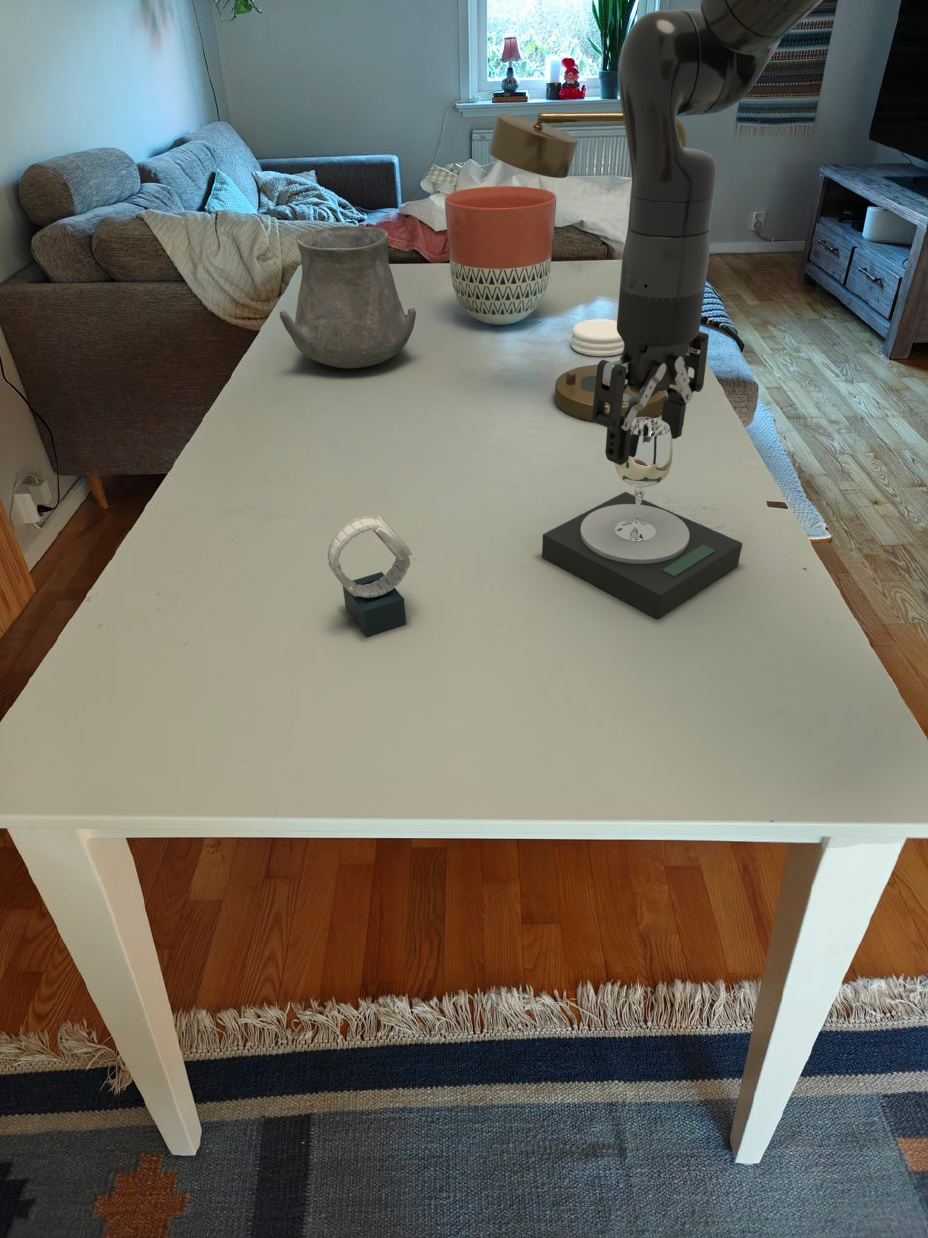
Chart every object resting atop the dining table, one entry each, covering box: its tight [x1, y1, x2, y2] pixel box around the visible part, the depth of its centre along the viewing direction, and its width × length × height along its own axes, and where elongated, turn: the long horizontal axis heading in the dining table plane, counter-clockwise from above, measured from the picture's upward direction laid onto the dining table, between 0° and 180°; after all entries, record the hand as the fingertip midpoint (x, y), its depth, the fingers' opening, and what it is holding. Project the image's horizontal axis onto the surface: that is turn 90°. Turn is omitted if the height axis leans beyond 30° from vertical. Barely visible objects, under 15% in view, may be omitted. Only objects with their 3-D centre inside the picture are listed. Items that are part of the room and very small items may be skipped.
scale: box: [541, 491, 743, 620], centre depth 92 cm, size 16×14×4 cm
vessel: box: [279, 225, 417, 369], centre depth 141 cm, size 22×22×20 cm
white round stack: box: [570, 318, 624, 357], centre depth 147 cm, size 10×10×4 cm
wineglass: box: [614, 417, 674, 541], centre depth 88 cm, size 6×6×12 cm
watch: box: [327, 514, 413, 638], centre depth 83 cm, size 6×8×11 cm
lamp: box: [488, 111, 688, 423], centre depth 118 cm, size 17×27×38 cm, turn 83°
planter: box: [444, 185, 557, 326], centre depth 155 cm, size 20×20×21 cm
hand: (644, 448), depth 86 cm, fingers open, 8 cm apart
